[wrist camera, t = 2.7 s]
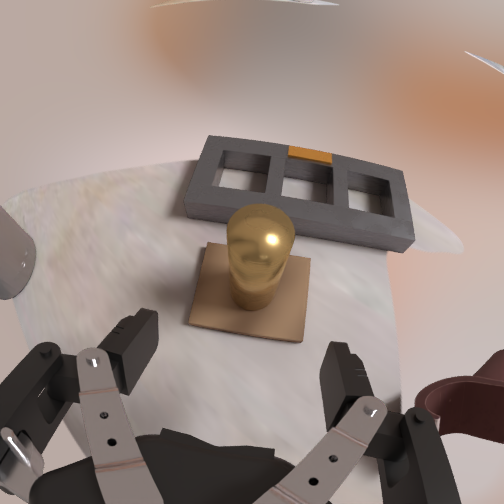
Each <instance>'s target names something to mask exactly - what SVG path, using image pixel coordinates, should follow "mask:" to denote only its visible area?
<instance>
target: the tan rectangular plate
mask: <svg viewBox="0 0 504 504" xmlns="http://www.w3.org/2000/svg"><path fill="white" fill-rule="evenodd" d="M310 261H311V258H305V257H299V256H292V255H289V257H288V260H287V262H286V265H285V268H284V271H283V273H282V276H281V279H280V281H279V284H278V287H277V290H276V292H275V295H274V298H273V300H272V301H271V303H270V304H269V305H268V306H267V307H265V308H264V309H261V310H258V311H248V310H245V309H242V308H240V307H239V306H238V305H237V304H236V303H235V302H234V301H233V299H232V297H231V293H230V281H229V265H228V249H227V245H223V244H217V243H211V242H208V243H207V247H206V251H205V255H204V259H203V263H202V267H201V271H200V275H199V279H198V283H197V287H196V291H195V295H194V300H193V304H192V308H191V313H190V317H189V322H188V323H189V324H190V325H194V326H199V327H204V328H209V329H214V330H220V331H225V332H231V333H236V334H242V335H249V336H255V337H261V338H268V339H275V340H282V341H290V342H297V343H301V342H302V341H303V336H304V327H305V317H306V308H307V297H308V286H309V274H310Z"/></svg>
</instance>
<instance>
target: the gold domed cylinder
mask: <svg viewBox="0 0 504 504" xmlns="http://www.w3.org/2000/svg"><path fill="white" fill-rule="evenodd" d="M294 239H295V229H294V226H293V223H292V221H291V220H290V218H289V217H288V216H287V215H286V214H285V213H284V212H283V211H282V210H280V209H278V208H277V207H274V206H272V205H268V204H251V205H247V206H244V207H242V208H241V209H239V210H238V211H236V212H235V213H234V214H233V215H232V217H231V218H230V220H229V222H228V225H227V249H228V265H229V281H230V293H231V297H232V299H233V301H234V302H235V303H236V304H237V305H238V306H239V307H240V308H242V309H245V310H248V311H258V310H261V309H264V308H265V307H267V306H268V305H269V304H270V303H271V301H272V300H273V298H274V295H275V292H276V290H277V287H278V284H279V281H280V279H281V276H282V273H283V271H284V268H285V265H286V262H287V260H288V257H289V254H290V251H291V248H292V246H293V243H294Z"/></svg>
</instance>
